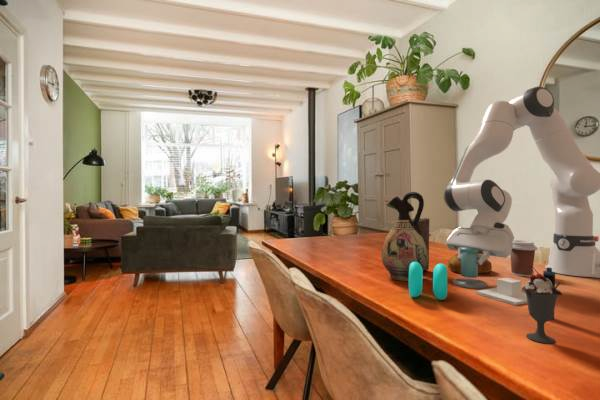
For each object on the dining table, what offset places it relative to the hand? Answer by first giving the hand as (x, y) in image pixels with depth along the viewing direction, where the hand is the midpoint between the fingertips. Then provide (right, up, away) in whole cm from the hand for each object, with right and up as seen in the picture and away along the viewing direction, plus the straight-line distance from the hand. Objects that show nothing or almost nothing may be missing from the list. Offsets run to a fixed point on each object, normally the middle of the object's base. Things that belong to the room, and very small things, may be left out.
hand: (468, 261), depth 115 cm
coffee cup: (+26, -7, +14) cm, 31 cm away
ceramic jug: (-17, -7, +9) cm, 21 cm away
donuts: (-18, -8, -14) cm, 24 cm away
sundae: (-5, -9, -42) cm, 43 cm away
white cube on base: (+6, -8, -13) cm, 16 cm away
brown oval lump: (+10, -7, +21) cm, 25 cm away
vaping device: (+4, -8, -29) cm, 30 cm away
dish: (+1, -7, 0) cm, 7 cm away
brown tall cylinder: (-10, -7, +20) cm, 23 cm away
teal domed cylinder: (0, -5, 0) cm, 5 cm away
